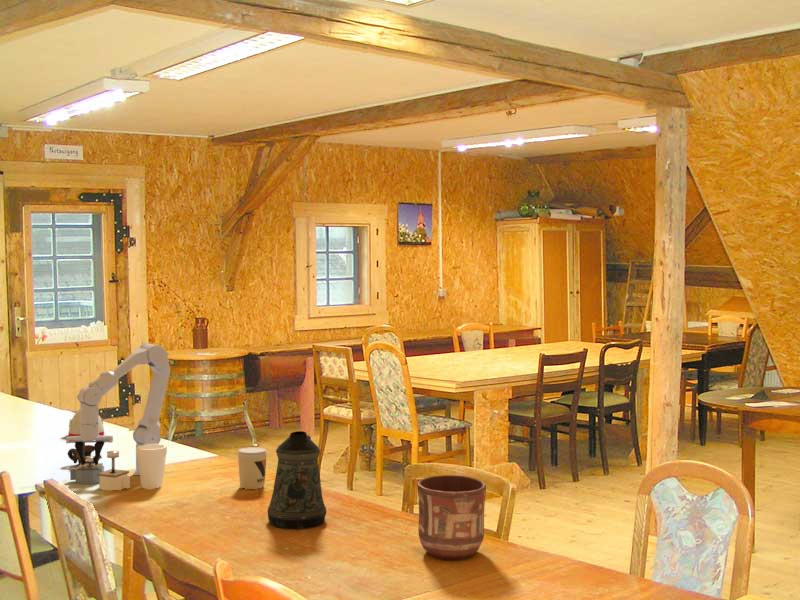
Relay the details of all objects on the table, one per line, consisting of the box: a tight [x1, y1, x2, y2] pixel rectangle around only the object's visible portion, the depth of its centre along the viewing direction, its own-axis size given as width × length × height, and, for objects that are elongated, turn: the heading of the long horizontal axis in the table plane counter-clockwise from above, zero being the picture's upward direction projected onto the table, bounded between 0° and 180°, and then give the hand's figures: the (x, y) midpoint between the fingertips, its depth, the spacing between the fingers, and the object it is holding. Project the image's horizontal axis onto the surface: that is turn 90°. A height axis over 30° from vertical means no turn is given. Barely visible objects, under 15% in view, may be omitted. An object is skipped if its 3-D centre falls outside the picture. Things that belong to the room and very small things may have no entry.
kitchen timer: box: [68, 409, 105, 437], centre depth 391 cm, size 14×14×15 cm
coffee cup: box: [237, 446, 268, 490], centre depth 307 cm, size 9×9×12 cm
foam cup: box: [135, 443, 168, 490], centre depth 306 cm, size 10×9×13 cm
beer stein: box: [267, 430, 327, 531], centre depth 269 cm, size 16×19×25 cm
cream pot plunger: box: [106, 450, 120, 473], centre depth 304 cm, size 4×4×7 cm
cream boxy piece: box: [97, 468, 131, 491], centre depth 304 cm, size 10×8×5 cm
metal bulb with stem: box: [84, 455, 95, 467], centre depth 313 cm, size 4×4×7 cm
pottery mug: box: [67, 444, 103, 465], centre depth 335 cm, size 12×10×8 cm
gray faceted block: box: [69, 462, 105, 485], centre depth 313 cm, size 10×8×5 cm
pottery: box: [416, 474, 487, 561], centre depth 241 cm, size 18×18×18 cm
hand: (89, 464), depth 313 cm, fingers closed on metal bulb with stem, 4 cm apart
